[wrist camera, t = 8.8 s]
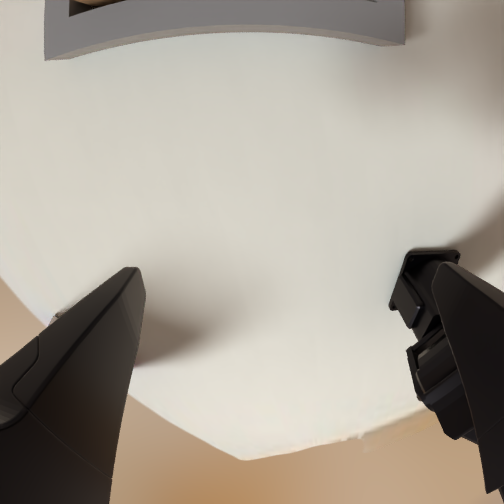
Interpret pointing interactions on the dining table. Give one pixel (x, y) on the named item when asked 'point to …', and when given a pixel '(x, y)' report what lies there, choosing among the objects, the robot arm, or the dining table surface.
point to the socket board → (215, 21)
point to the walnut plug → (99, 2)
